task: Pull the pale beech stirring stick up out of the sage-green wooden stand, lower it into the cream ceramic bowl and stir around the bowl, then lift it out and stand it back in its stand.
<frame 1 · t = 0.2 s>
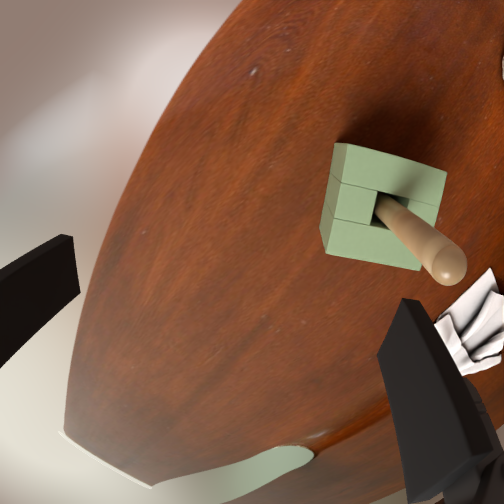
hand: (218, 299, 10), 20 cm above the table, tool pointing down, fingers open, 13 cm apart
stand: (368, 194, 27), on the table
stick: (398, 218, 19), in the stand
cloth: (479, 333, 31), on the table
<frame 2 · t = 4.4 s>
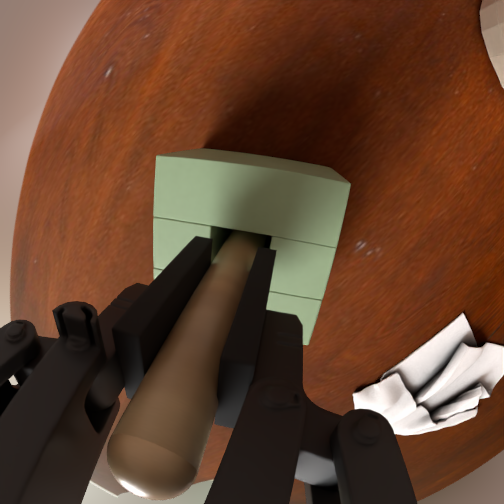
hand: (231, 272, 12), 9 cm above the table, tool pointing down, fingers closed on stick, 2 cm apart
stand: (256, 218, 20), on the table
stick: (228, 282, 12), in the stand, touching gripper
cloth: (446, 389, 24), on the table
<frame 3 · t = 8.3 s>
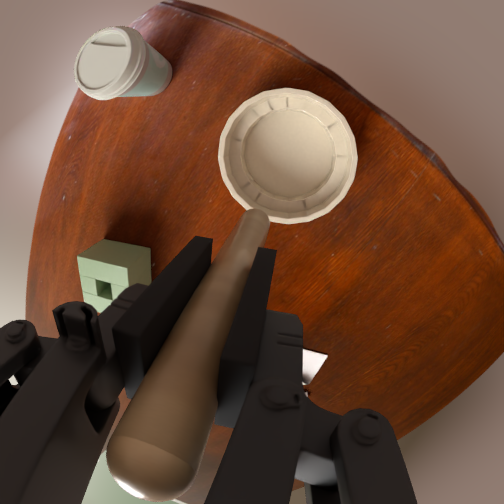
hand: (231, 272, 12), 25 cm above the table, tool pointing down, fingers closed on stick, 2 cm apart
stand: (127, 268, 43), on the table
coffee cup: (153, 76, 32), on the table
bowl: (288, 153, 33), on the table
stick: (228, 283, 12), point 25 cm above the table, touching gripper
cloth: (263, 370, 47), on the table
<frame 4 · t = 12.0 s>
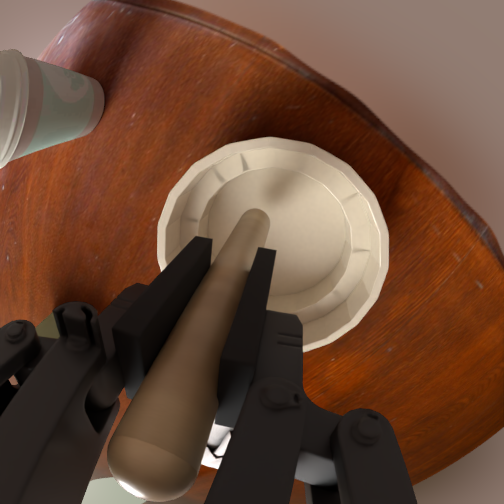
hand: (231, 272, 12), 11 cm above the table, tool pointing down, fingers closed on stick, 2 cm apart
stand: (83, 347, 32), on the table
coffee cup: (82, 106, 21), on the table
bowl: (276, 231, 22), on the table
stick: (228, 283, 12), point 11 cm above the table, touching gripper
cloth: (246, 452, 36), on the table
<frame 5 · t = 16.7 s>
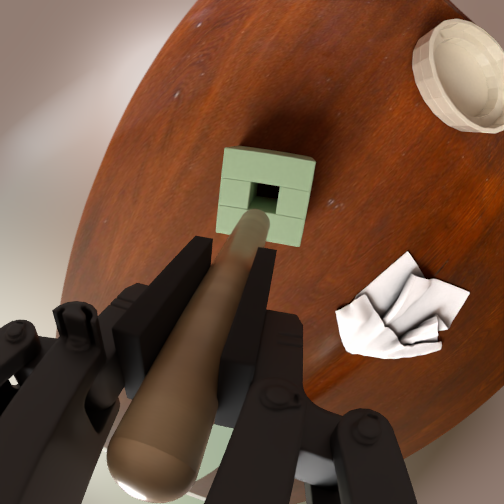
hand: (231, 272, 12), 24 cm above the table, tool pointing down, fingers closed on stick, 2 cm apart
stand: (269, 186, 34), on the table
bowl: (456, 79, 25), on the table
stick: (228, 284, 12), point 25 cm above the table, touching gripper
cloth: (408, 317, 39), on the table
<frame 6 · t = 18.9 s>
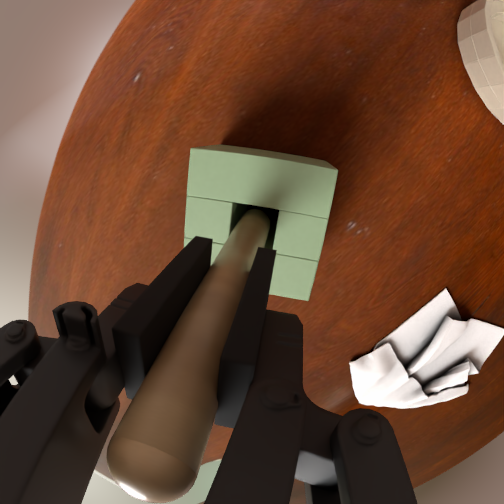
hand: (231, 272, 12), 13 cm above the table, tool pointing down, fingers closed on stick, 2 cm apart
stand: (264, 202, 24), on the table
stick: (228, 284, 12), point 14 cm above the table, touching gripper
cloth: (436, 363, 28), on the table
when the fingers open (8 cm above the table, at t = 20.1 s): stick stays where it is, resting on stand.
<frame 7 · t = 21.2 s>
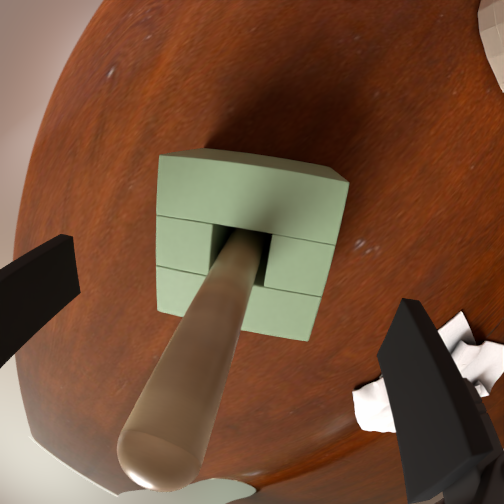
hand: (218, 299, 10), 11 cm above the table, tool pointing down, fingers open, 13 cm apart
stand: (257, 217, 20), on the table
stick: (229, 284, 12), in the stand
cloth: (445, 387, 25), on the table
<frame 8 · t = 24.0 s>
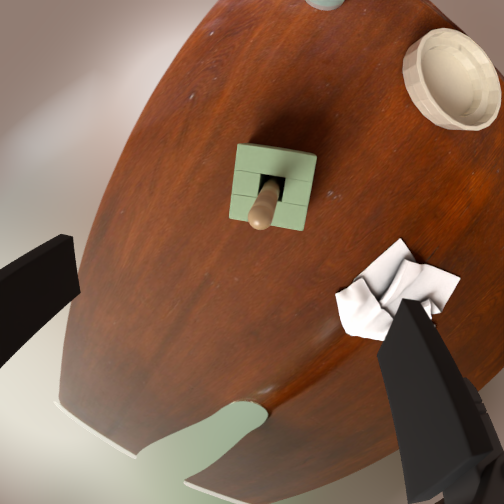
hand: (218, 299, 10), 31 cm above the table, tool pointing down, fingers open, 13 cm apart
stand: (275, 179, 38), on the table
bowl: (443, 83, 29), on the table
stick: (269, 194, 30), in the stand
cloth: (403, 300, 43), on the table
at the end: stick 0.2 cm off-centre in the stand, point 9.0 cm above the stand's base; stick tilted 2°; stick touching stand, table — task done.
